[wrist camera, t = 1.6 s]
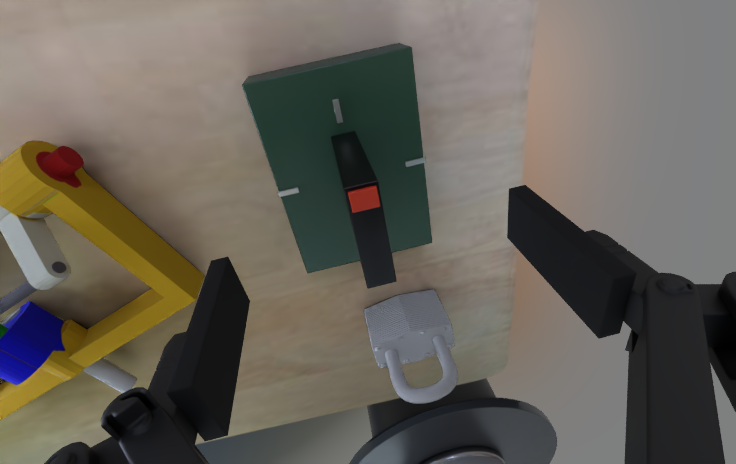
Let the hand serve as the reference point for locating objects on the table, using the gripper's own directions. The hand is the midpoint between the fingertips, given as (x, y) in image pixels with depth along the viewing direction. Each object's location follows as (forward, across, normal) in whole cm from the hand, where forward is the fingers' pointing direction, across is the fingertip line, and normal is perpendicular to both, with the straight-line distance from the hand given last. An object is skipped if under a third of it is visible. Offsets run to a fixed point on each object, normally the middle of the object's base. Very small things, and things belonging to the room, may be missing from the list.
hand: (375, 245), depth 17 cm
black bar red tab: (+9, 0, 0) cm, 9 cm away
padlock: (+12, -2, +16) cm, 20 cm away
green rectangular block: (+12, 0, 0) cm, 12 cm away
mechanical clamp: (+12, +28, +7) cm, 31 cm away
